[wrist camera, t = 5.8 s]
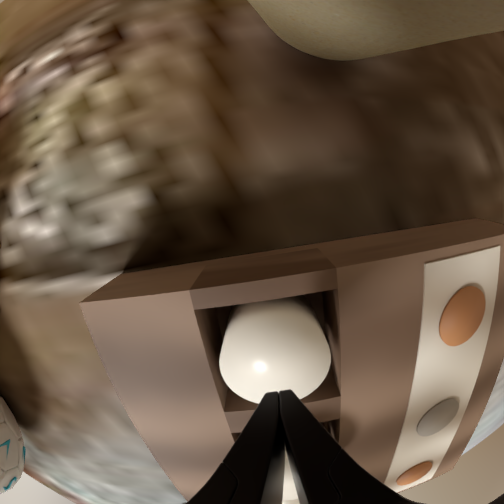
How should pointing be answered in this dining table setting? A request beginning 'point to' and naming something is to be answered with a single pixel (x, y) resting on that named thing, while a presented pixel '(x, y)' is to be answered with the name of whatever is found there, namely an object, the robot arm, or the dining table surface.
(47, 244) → the dining table surface
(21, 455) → the puzzle ball
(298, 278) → the button board
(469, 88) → the dining table surface
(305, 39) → the plant pot
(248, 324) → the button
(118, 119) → the dining table surface
